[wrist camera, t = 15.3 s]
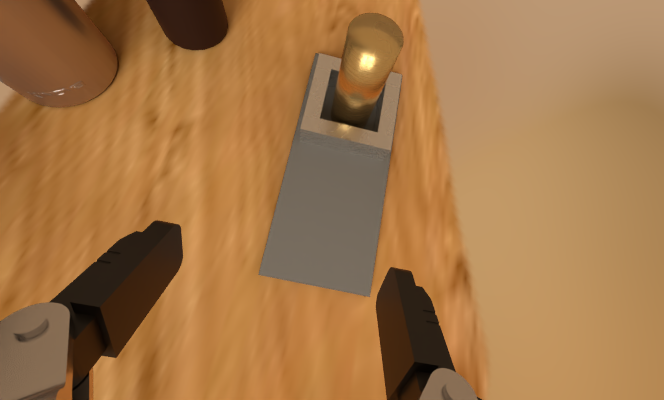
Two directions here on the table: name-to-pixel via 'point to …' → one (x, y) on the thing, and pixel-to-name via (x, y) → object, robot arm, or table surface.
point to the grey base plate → (327, 213)
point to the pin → (365, 67)
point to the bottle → (191, 21)
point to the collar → (344, 135)
